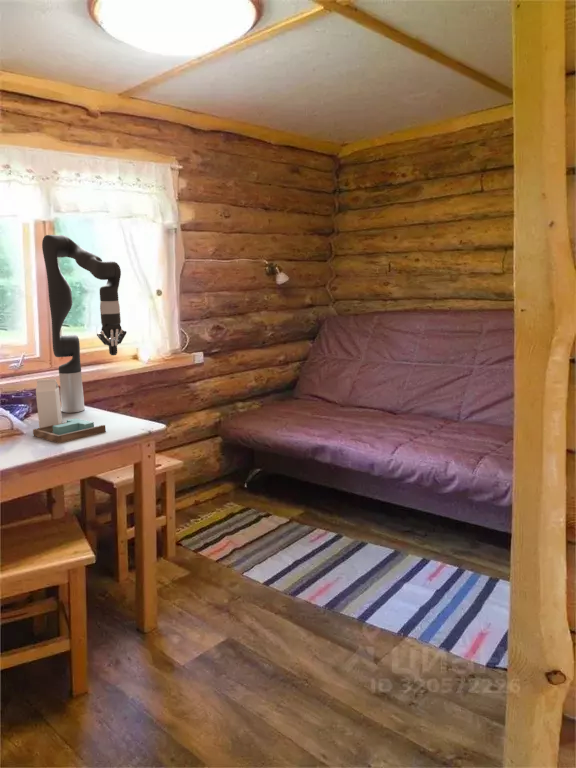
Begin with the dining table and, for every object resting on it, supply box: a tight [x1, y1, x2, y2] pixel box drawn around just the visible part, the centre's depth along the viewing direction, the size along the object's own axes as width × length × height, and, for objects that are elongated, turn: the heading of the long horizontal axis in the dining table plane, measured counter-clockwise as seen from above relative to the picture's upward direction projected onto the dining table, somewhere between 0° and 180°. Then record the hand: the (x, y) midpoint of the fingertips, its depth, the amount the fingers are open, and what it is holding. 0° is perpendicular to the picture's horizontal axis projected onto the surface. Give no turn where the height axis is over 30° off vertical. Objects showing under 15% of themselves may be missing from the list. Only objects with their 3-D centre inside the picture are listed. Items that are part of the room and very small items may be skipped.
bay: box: [32, 421, 107, 444], centre depth 224 cm, size 17×19×2 cm
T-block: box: [53, 417, 95, 435], centre depth 224 cm, size 12×12×4 cm
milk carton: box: [35, 378, 63, 428], centre depth 234 cm, size 7×7×19 cm
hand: (113, 355), depth 244 cm, fingers closed
